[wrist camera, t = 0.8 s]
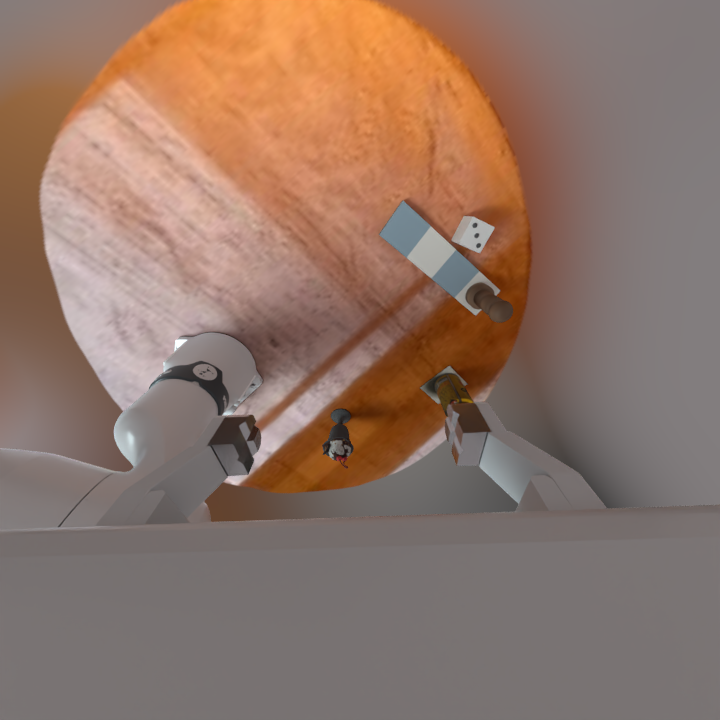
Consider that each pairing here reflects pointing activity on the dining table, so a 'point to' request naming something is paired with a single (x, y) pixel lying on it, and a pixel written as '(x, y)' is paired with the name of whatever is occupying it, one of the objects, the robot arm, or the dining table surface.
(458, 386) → the condiment
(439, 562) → the robot arm
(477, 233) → the die
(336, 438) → the sundae
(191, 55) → the dining table surface
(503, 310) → the pawn
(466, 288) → the board
